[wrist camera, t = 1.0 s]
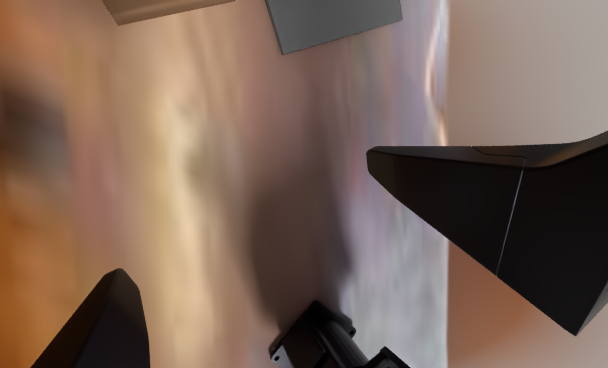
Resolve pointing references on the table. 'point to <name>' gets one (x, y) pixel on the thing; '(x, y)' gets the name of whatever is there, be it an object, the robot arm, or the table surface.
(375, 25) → the mat
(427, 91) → the table surface
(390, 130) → the table surface
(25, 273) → the table surface
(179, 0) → the board
